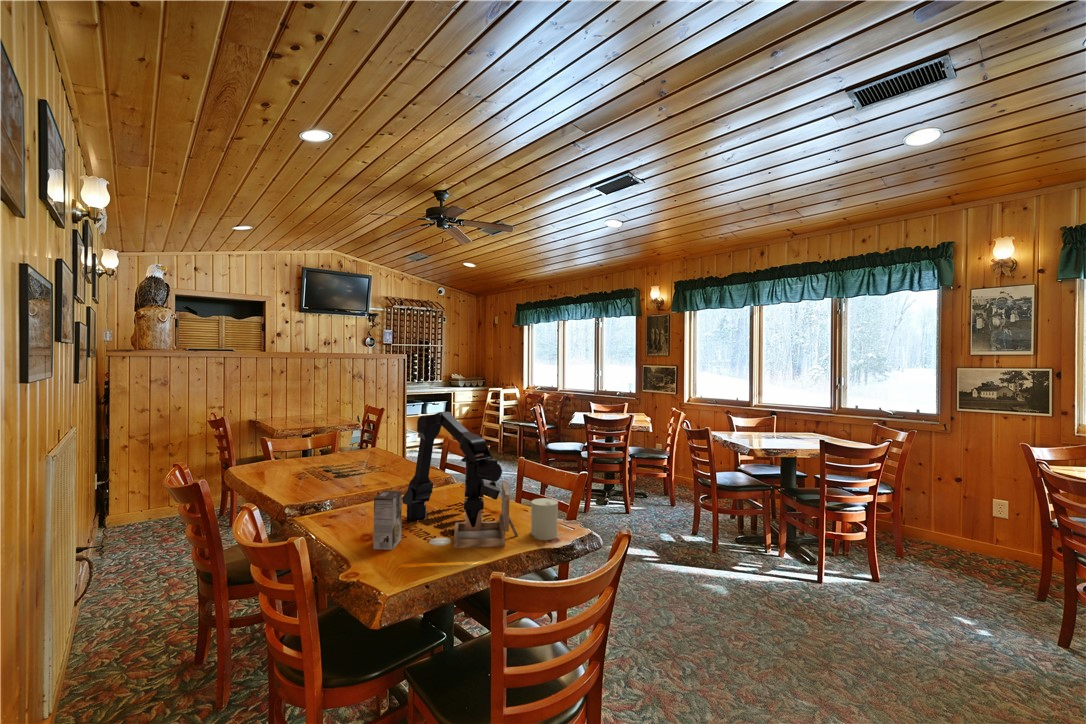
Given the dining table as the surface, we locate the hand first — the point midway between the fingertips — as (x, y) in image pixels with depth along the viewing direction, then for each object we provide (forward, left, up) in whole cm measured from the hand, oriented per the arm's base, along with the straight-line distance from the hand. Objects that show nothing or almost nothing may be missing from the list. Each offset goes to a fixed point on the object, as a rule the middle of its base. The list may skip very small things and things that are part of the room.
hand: (473, 523), depth 169 cm
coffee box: (-27, -2, -6) cm, 28 cm away
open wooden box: (+5, 0, -6) cm, 7 cm away
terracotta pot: (0, 0, -2) cm, 2 cm away
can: (+24, +2, -6) cm, 25 cm away
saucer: (-11, -3, -5) cm, 12 cm away
